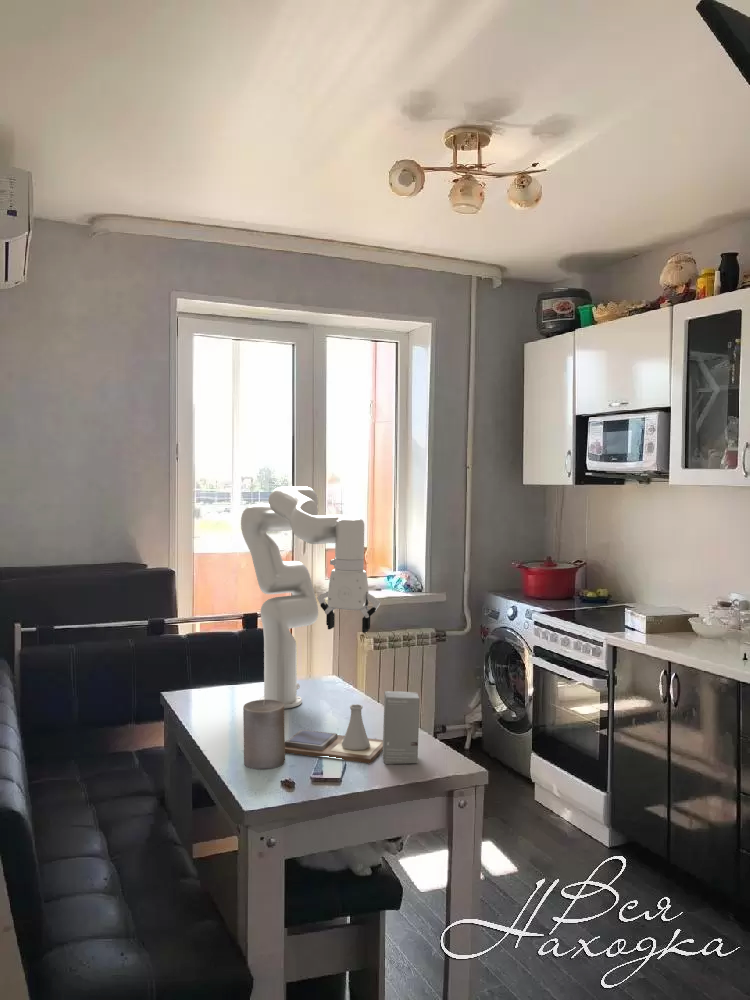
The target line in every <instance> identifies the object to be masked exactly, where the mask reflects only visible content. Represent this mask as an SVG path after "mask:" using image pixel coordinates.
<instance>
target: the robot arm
mask: <svg viewBox="0 0 750 1000" xmlns="http://www.w3.org/2000/svg"><path fill="white" fill-rule="evenodd" d="M318 504H319V499H318V496H317V493H316V491H315V490H313V488H311V487H308V486H306V485H305V486H300V485H299V486H280V487H276V488H275V489H273V490H272V491H271V492H270V494H269V496H268V502H267V503H257V504H252V505H248V507H246V508H245V509H244V510H243V511H242V514H241V518H240V529H241V534H242V536H243V539H244V542H245V544H246V546H247V548H248V550H249V552H250V556H251V560H252V564H253V567H254V571H255V572H254V573H255V576H256V581H257V584H258V586H259V589H260V591H261V593H263V594H265V595H279V594H280V595H281V594H290V593H291V595H285V596H283V595H282V596H276V597H271V598H269V599H267V600H265V601H264V602H263V604H262V605H261V608H260V618H261V625H262V632H263V652H264V653H263V656H264V657H263V663H264V664H263V667H264V668H263V680H264V682H263V685H264V687H263V688H264V689H263V694H264V695H263V696H262V697H259V699H258V700H276V701H280V702H282V703H283V704H284V710H285V709H291V708H296V707H298V706H300V705H301V704H302V703H303V699H302V697H301V696H299V695H297V693H298V692H297V690H299V689H300V686H301V685H300V684H299V683H298V682H297V680H298V679H297V674H298V673H297V664H298V663H297V660H298V659H297V656H298V655H297V654H298V653H297V642H296V639H295V637H294V636H293V634H292V632H291V631H290V629H295V628H300V627H301V628H302V627H306V626H311V625H313V624H314V623H316V622H317V620H318V617H319V606H320V608H321V609H322V610H323V612H324V613H325V615H326V621H325V622H326V623H325V624H326V626H327V630H332V629H333V628H335V621H336V620H335V618H336V617H335V616H336V614H335V612H334V611H335V609H336V610H347V611H360V612H361V613H362V615H363V617H362V619H361V621H362V623H361V624H362V625H361V626H362V627H361V632H362V633H363V634H365V633H367V632H368V631H369V630H370V629H371V617H372V615H374V614H375V612H376V611H378V608H379V607H380V605H381V603H382V602H381V600H380V599H378V598H377V597H375V596H374V595H372V594H371V593H369V582H368V576H367V571H366V570H364V567H365V566H364V561H365V522H364V520H363V519H362V518H358V517H350V516H348V515H345V514H334V515H333V514H326V515H322V514H321V515H318V511H319V510H318V509H319V508H318ZM288 531H292V533H293V534H294V536H295V537H296V538H298V539H300V540H301V541H303V542H305V543H307V544H311V545H325V544H335V546H334V549H335V550H334V557H333V559H330V560H329V564H330V565H331V566H333V568H334V569H332V570H331V572H330V577H329V581H328V591H326V592H324V593H322V594H319V595H318V596H317V597H316V594H315V593H316V592H315V590H314V587H313V582H312V579H311V575H310V572H309V569H308V568H307V566H306V565H305V564H304V563H302V562H301V561H297V560H290V561H289V560H288V561H284V560H283V558H282V556H281V552H280V548H279V546H278V544H277V543H276V541H274V539H273V538H272V537H271V536H270V535H268V534H267V532H270V533H271V532H288ZM326 598H327V602H326V600H325V599H326ZM317 600H318V601H317ZM369 602H371V603H372V607H371V608H369ZM318 603H319V604H320V605H318Z"/></svg>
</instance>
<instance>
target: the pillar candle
mask: <svg viewBox="0 0 750 1000" xmlns="http://www.w3.org/2000/svg"><path fill="white" fill-rule="evenodd" d="M242 713H243V714H242V715H243V717H242V718H243V763H244V765H246V766H245V767H246V768H249V767H250V768H249V769H253V770H266V769H267V770H268V769H275V768H278V767H280V765H281V766H282V765H284V763H285V761H286V753H285V741H286V739H285V738H286V737H285V733H286V731H285V709H284V704H283V703H282V702H280V701H276V700H259V699H257V700H251V701H249V702H247V703H245V704H243V711H242Z"/></svg>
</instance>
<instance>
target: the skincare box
mask: <svg viewBox="0 0 750 1000" xmlns="http://www.w3.org/2000/svg"><path fill="white" fill-rule="evenodd" d="M383 694H384V695H383V696H384V697H383V699H384V700H383V701H384V703H383V704H384V705H383V724H382V725H383V731H382V732H383V733H382V740H383V751H382V758H383V762H384V764H385V765H390V764H391V765H393V764H394V765H395V764H397V765H399V764H418V760H419V759H418V758H419V757H418V755H419V729H420V728H419V727H420V725H419V724H420V696H419V693H418V692H415V691H401V690H399V691H393V690H392V691H391V690H390V691H389V690H388V691H387V690H386V691H384V692H383Z"/></svg>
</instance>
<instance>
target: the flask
mask: <svg viewBox="0 0 750 1000" xmlns="http://www.w3.org/2000/svg"><path fill="white" fill-rule="evenodd" d="M349 708H350V717H349V722H348V724H347V725H348V726H347V729H346V731H345V734H344V736H345V737H344V739H343V742H342V747H343V748H345V749H350V750H365V749H366V748H368V747H370V743H369V740H368V738H369V737H368V735H367V731H366V729H365V725H364V722H363V716H362V710H363V708H364V707H363V705H362V704H359V703H358V704H357V703H354V704H351V705H349Z"/></svg>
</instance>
